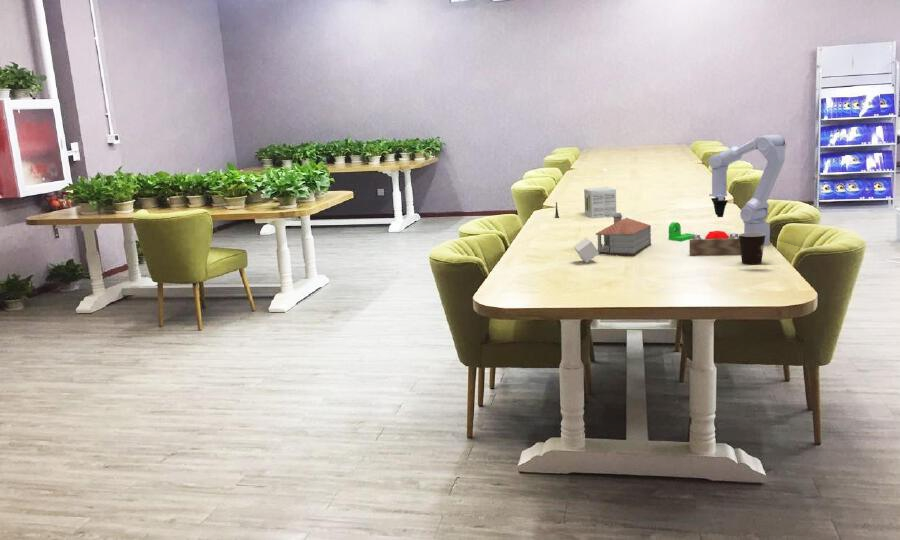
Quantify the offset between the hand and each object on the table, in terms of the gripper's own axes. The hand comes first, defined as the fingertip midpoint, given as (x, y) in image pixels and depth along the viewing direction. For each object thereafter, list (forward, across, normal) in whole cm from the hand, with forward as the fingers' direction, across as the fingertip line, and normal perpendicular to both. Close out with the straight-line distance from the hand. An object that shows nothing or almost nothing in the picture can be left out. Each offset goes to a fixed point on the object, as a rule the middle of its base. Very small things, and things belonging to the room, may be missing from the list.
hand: (719, 215), depth 317 cm
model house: (+10, +22, -39) cm, 46 cm away
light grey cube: (+10, +45, -52) cm, 70 cm away
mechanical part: (+10, -1, -14) cm, 18 cm away
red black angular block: (+10, +28, -4) cm, 30 cm away
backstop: (+10, +36, -4) cm, 38 cm away
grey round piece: (+10, +30, -4) cm, 31 cm away
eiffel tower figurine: (+11, -59, -74) cm, 95 cm away
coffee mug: (+10, +52, +7) cm, 53 cm away
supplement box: (+10, -63, -52) cm, 82 cm away
